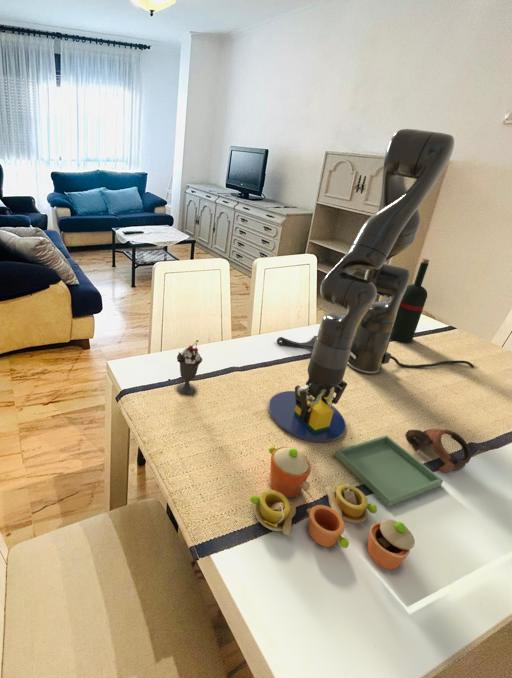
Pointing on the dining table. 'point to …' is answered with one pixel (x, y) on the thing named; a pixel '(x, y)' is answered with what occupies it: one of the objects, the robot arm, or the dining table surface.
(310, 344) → the bracket
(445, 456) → the pottery mug
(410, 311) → the wine bottle
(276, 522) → the toy tea set
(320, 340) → the robot arm
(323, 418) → the sponge
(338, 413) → the plate
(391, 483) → the dish
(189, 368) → the sundae
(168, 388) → the dining table surface
